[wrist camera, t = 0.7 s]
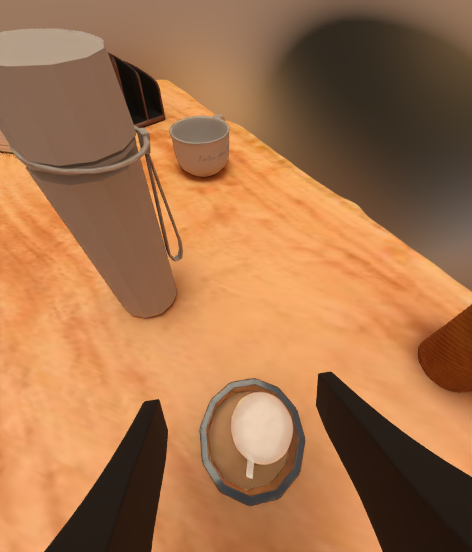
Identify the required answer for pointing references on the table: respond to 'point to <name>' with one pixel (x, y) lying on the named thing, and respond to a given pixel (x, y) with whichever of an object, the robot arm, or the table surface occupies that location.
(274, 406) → the milkshake
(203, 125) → the teacup
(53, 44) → the water bottle
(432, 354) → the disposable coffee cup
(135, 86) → the letter holder
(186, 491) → the table surface
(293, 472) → the brown hollow ring
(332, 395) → the robot arm
